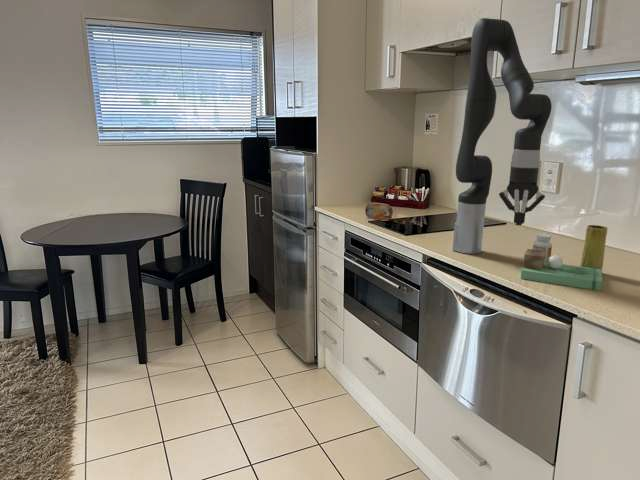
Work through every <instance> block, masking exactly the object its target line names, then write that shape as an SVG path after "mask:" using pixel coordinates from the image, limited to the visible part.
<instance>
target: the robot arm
mask: <svg viewBox="0 0 640 480" xmlns="http://www.w3.org/2000/svg"><path fill="white" fill-rule="evenodd" d="M470 43H471V44H470V65H469V66H470V67H469V79H468V87H467V94H466V102H465V106H464V107H465V109H464V118H463V128H462V134H461V140H460V144H459V149H458V153H457V159H456V164H455V176H456V179H457V181H458V182H459V183H462V184H469V183H470V184H471V186H470V187H469V188H467V190H465V191H462V192H461V193H459V194H458V198H457V200H458V201H457V210H456V211H457V213H456V222H455V223H454V228H453V240H452V251H454V252H458V253H462V254H469V255H470V254H481V252H482V248H483V239H484V228H485V227H484V226H485V216H486V209H487V207H486V206H487V199H488V197H489V194H490V190H491V189H490V188H491V181H492V175H493V164H492V163H493V162H492V160H491V158H490V157H489V156H488V155H478V154H477V155H475V153H476V147H477V144H478V142H479V140H480V137H481V136H482V134H483V133H484V131H486V129H487V127H488V126H489V125H490V123H491V122H492V121H493V118H494V115H495V109H496V104H497V90H496V87H495V85H494V82H493V80H492V78H491V75H490V72H489V69H488V51H489V52H498V53H499V54H500V55H501V57H502V59H503V62H502V64H501V69H500V76H501V80H502V83H503V85H504V87H505V89H506V91H507V93H508V98H509V106H510V107H509V108H510V111H511V112H510V113H511V115H513V117H514V118H515V119H517V120H525V121H526V120H529V122H528V124H527V126H526V127H525V128H520V129H517V130H515V131H516V132H515V135H514V139H513V140H514V141H513V149H512V150H513V152H512V155H511V161H510V173H509V180H508V181H509V182H508V184H507V187H506V189H504V190H503V191H501V192H499V193H498V196H499V197H500V199H501V200H502V202H503V204H505V206H506V207H507V209H508V210H509V211H513V212H514V216H513V223H514V224H515V226H520V227H521V226H522V225H523V224H524V223H525V221H526V213H528V212H532V211H533V210H534V209H535V208H536V207H537V206H539V204H540V203H541V202H542V201H543V200H544V199H545V198H546V195H545V194H543V193H542V192H540V191H539V186H538V179H539V172H540V165H541V164H540V162H541V145H542V136H543V134H544V131H545V128H546V126H547V124H548V121H549V118H550V115H551V113H552V109H553V107H552V105H553V104H552V100H551V99H550V97H549V96H548V95H547V94H543V93H532V92H533V90H534V87H535V84H534V80H533V79H532V76H531V74H530V73H529V71H528V69H527V68H526V65H525V64H524V62H523V59H522V56H521V52H520V49H519V46H518V45H519V44H518V42H517V39H516V36H515V31H514V29H513V26H512V25H511V23H510V22H509V21H508V20H505V19H499V18H489V17H488V18H486V17H485V18H484V17H482V18H479V19H478V20H477V21H476V23H474V27H473V29H472V34H471V42H470ZM509 195H510V197H511V198H512V200H513V202H514V205H513V203H512V202H511V200H510V199H509ZM535 195H536V196H535ZM534 196H535V197H534ZM533 197H534V199H535V201H534V202H532V203H531V204H530V205H529V206H528V202H529V201H530V200H531V199H532V198H533Z"/></svg>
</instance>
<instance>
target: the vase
mask: <svg viewBox="0 0 640 480" xmlns="http://www.w3.org/2000/svg"><path fill="white" fill-rule="evenodd" d="M585 231H586V233H585V237H584V238H585V239H584V245H583V250H582V256H581V262H580V267H587V268H595V269H601V272H602V273H603V266H604V260H605V257H604V256H605V251H606V249H605V248H606V242H607V235H608V227H607V226H604V225H598V224H597V225H595V224H590V225H587V227H586V230H585Z"/></svg>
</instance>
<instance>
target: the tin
mask: <svg viewBox="0 0 640 480" xmlns="http://www.w3.org/2000/svg"><path fill="white" fill-rule="evenodd" d="M393 213H394V211H393V207H392V206H391V205H390V204H387V203H381V202H369V203H368V204H367V205H366V206H365V215H366V217H367V219H368V218H369V219H368V220H370V219H374V220H373V221H375V220H380V221H387V222H390V220H392V219H393V215H394V214H393ZM380 221H379V222H380Z"/></svg>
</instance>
